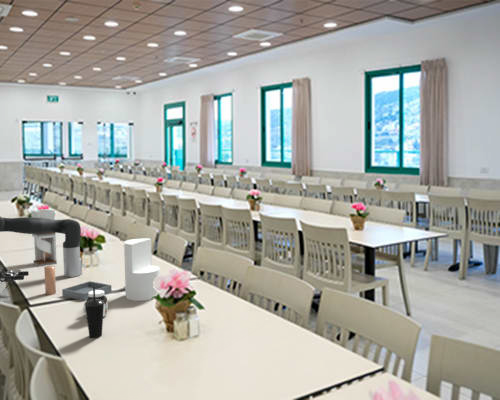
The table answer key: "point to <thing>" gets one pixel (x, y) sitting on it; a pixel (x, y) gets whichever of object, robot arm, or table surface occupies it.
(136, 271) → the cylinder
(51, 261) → the display case
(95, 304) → the drinking cup
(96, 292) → the spread jar
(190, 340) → the table surface
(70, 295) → the shallow square tray
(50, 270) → the pillar candle
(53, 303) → the table surface
